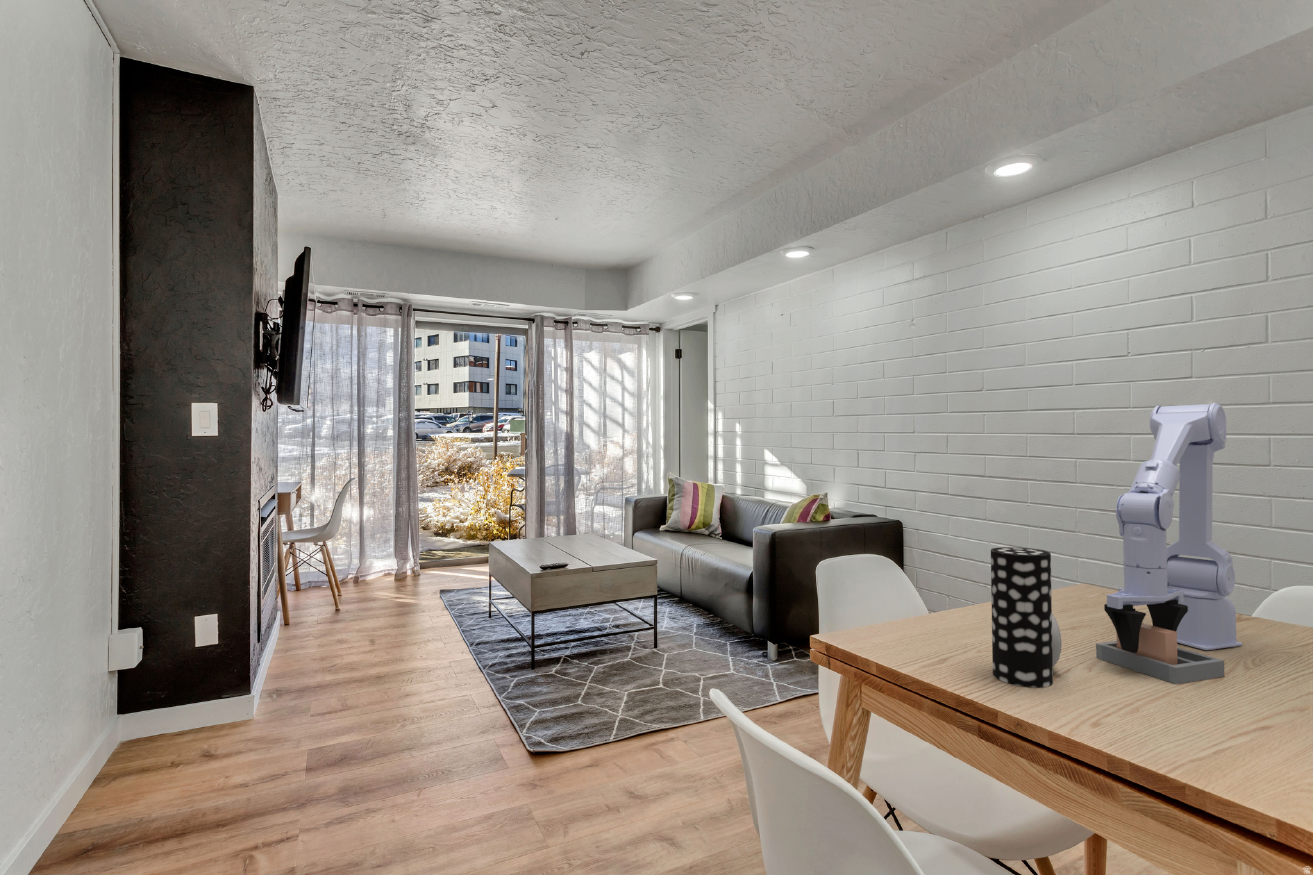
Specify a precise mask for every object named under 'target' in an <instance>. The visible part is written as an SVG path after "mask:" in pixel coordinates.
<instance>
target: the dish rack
mask: <svg viewBox="0 0 1313 875" xmlns="http://www.w3.org/2000/svg"><path fill="white" fill-rule="evenodd" d="M1095 652H1096V653H1095V654H1096V655H1095V658H1096V659H1098V660H1102V661H1105V662H1108V663H1111V664H1113V665H1116V666H1120V667H1122V668H1125V669H1128V670H1131V671H1135V672H1138V673H1140V674H1144V675H1147V676H1150V677H1152V678H1153V677H1154V678H1156V679H1159V680H1162V681H1166V682H1169V683H1171V684H1173V685H1180V684H1185V683H1186V684H1187V683H1191V682H1197V681H1205V680H1210V679H1216V678H1217V679H1218V678H1223V677H1225V660H1223V659H1220V658H1217V657H1212V656H1209V655H1205V654H1202V653H1198V652H1195V651H1192V650H1189V649H1184V648H1180V647H1177V661H1178V664H1177V665H1172V664H1169V663H1165V662H1162V661H1159V660H1155V659H1152V658H1149V657H1145V656H1142V655H1139V654H1136V653H1132V652H1128V651H1125V650H1122V649H1119V648H1117V640H1113V641H1106V642H1098V643H1095Z"/></svg>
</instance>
